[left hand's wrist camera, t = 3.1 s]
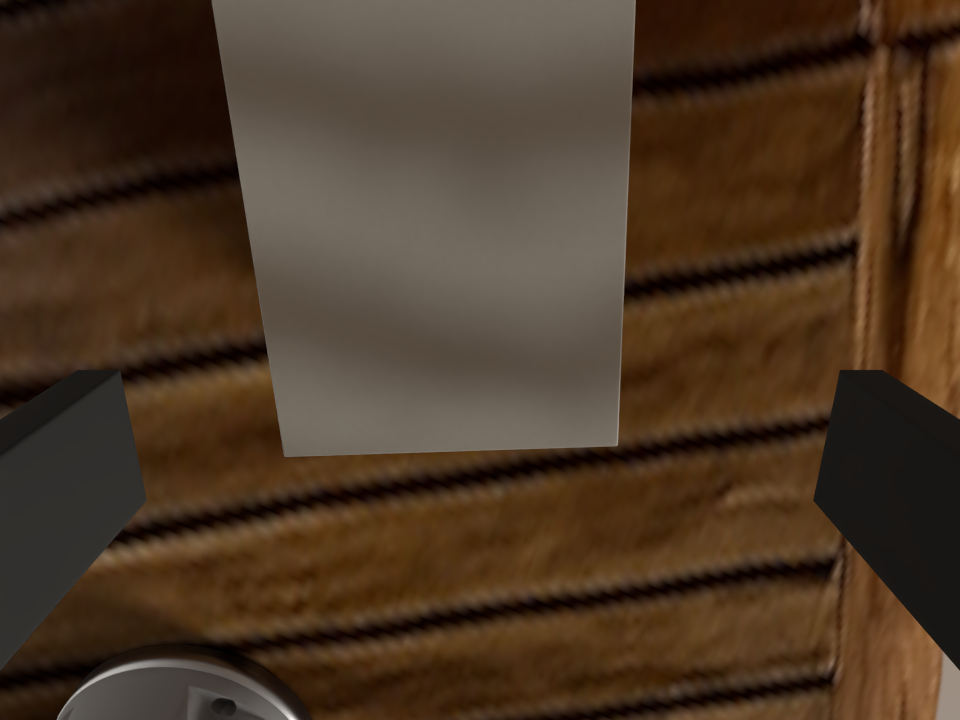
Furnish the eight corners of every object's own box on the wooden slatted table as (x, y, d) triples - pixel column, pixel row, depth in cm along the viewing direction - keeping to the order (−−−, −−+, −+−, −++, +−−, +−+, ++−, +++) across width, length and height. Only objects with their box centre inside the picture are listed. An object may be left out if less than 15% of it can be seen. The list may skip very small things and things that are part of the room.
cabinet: (288, -196, 24) (140, -434, 14) (579, -210, 24) (655, -461, 14) (349, 343, 32) (283, 457, 21) (572, 335, 31) (618, 446, 21)
